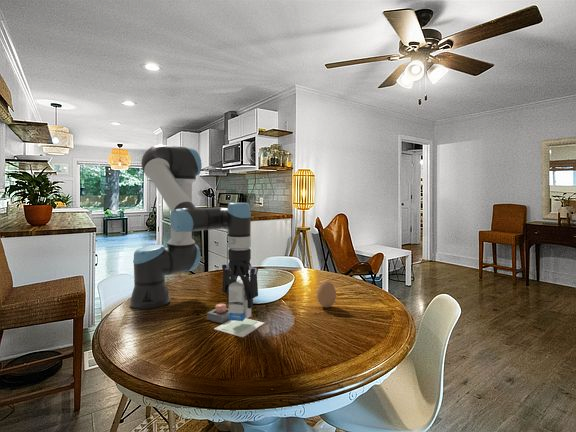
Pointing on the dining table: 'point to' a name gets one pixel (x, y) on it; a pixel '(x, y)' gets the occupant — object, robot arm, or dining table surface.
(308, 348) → the dining table surface
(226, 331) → the sheet
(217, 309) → the button
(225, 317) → the button housing
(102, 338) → the dining table surface
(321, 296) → the egg
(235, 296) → the ink box
